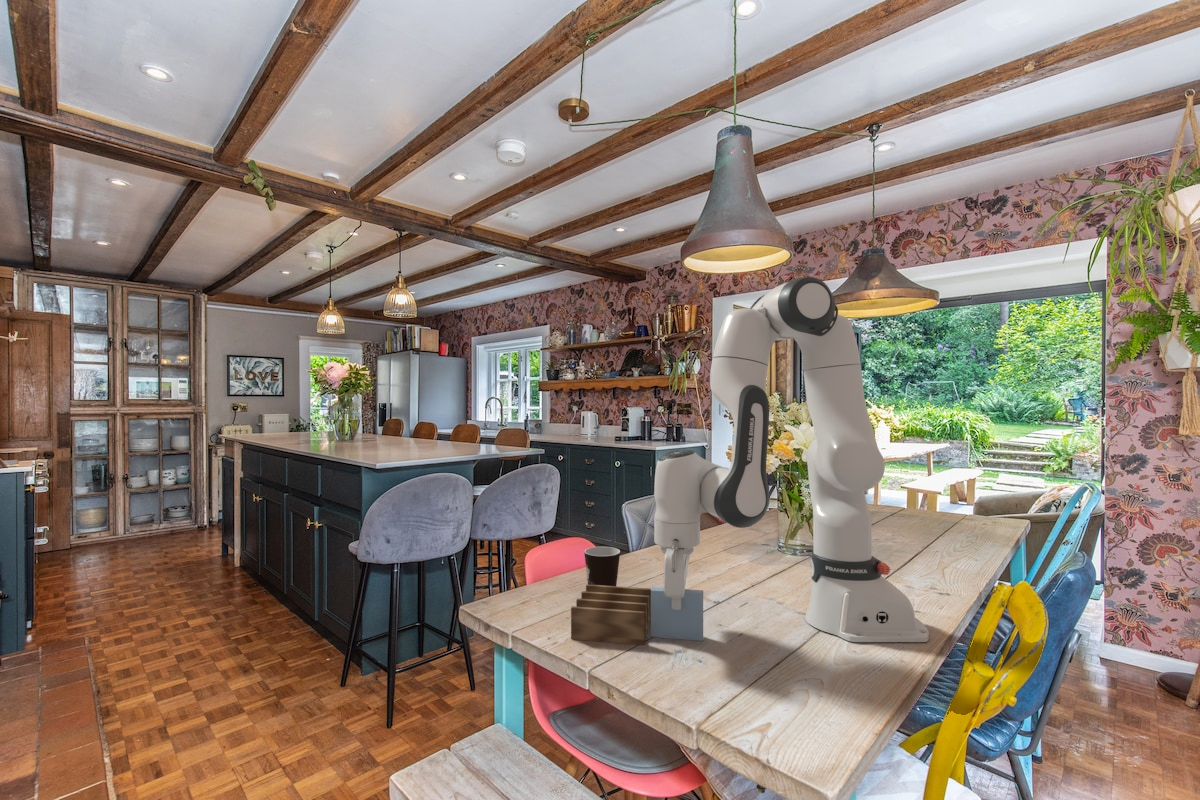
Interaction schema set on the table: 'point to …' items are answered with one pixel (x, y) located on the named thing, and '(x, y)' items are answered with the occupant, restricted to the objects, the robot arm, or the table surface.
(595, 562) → the coffee mug
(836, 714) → the table surface
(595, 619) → the walnut rack
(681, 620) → the upright grey-blue slab
